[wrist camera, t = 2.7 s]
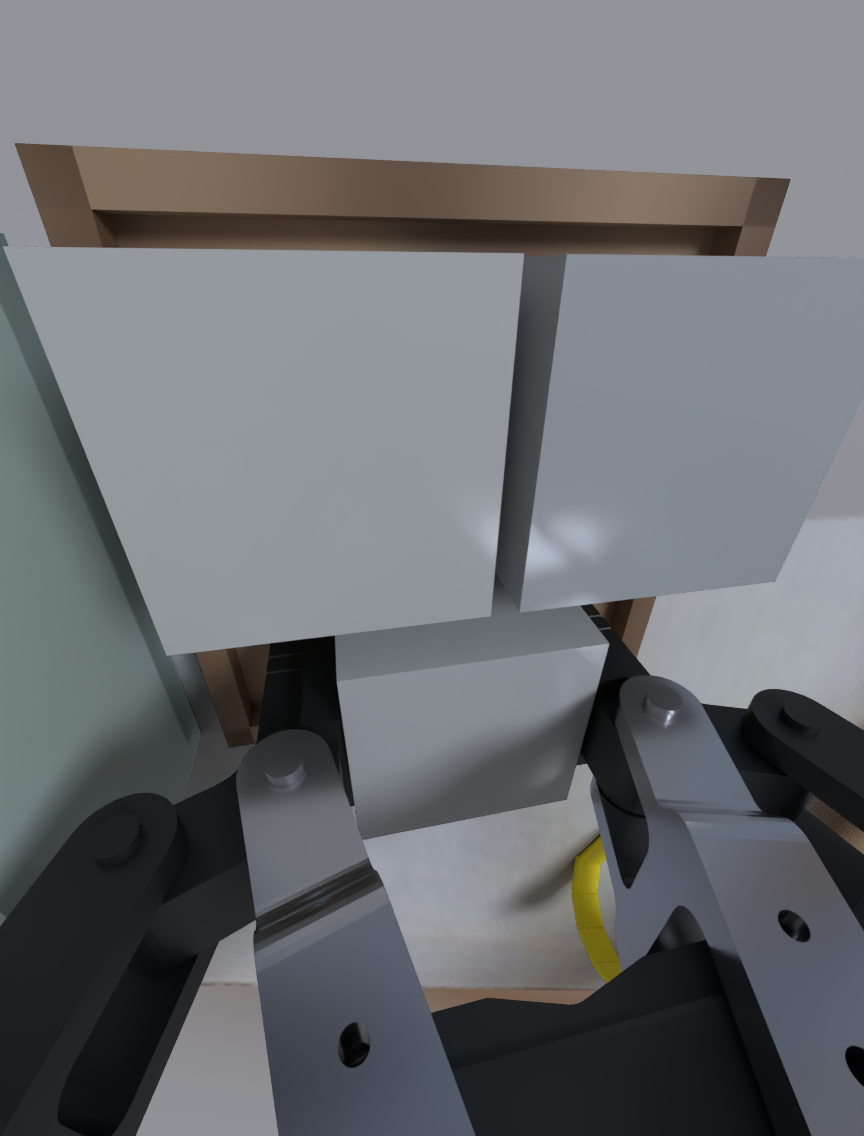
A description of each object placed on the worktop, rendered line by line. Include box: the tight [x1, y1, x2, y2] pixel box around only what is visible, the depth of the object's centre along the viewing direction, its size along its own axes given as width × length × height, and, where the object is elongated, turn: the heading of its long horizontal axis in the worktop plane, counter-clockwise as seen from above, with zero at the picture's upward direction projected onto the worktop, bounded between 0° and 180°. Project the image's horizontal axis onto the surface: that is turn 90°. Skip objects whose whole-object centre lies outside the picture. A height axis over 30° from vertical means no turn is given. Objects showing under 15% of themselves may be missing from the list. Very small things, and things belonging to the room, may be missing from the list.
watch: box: [572, 835, 622, 983], centre depth 19 cm, size 6×3×6 cm, turn 153°
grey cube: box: [335, 571, 609, 840], centre depth 9 cm, size 4×4×4 cm
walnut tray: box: [15, 143, 790, 748], centre depth 10 cm, size 11×11×1 cm
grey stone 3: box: [495, 254, 864, 613], centre depth 7 cm, size 4×4×4 cm
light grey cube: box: [3, 246, 524, 656], centre depth 6 cm, size 4×4×4 cm
